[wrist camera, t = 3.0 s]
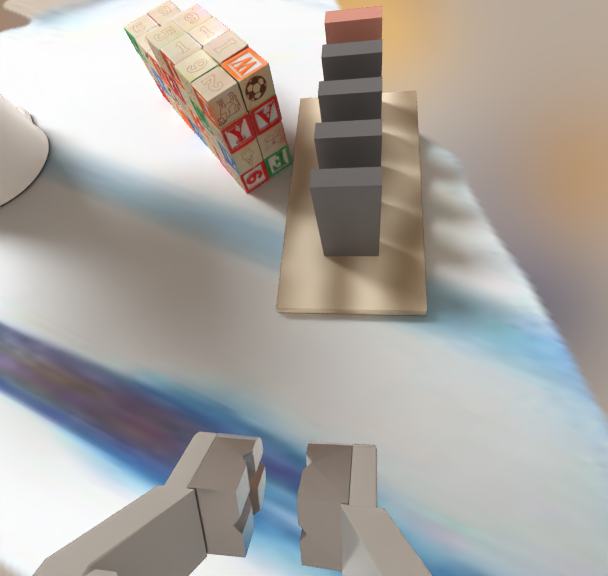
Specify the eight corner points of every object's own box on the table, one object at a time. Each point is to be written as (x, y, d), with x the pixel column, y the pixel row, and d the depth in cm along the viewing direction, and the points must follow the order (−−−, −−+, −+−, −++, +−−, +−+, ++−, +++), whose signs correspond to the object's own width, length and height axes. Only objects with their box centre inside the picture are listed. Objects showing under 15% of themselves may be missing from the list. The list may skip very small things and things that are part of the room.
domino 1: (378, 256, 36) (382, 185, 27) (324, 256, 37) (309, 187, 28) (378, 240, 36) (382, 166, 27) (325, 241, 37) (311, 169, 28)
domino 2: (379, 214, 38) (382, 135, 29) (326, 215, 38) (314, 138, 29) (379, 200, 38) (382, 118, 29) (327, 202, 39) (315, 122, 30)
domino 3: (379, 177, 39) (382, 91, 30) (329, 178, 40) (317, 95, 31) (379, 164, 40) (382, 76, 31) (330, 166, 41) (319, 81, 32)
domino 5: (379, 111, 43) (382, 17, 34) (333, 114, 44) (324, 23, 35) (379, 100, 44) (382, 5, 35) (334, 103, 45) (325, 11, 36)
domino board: (278, 312, 36) (276, 307, 35) (302, 107, 47) (300, 98, 46) (425, 315, 34) (427, 310, 33) (415, 99, 45) (416, 90, 44)
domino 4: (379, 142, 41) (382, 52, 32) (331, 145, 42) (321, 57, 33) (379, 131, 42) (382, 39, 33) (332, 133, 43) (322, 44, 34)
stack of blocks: (162, 97, 52) (105, -4, 40) (202, 72, 52) (157, -33, 41) (248, 195, 43) (205, 100, 32) (294, 164, 44) (269, 60, 32)
